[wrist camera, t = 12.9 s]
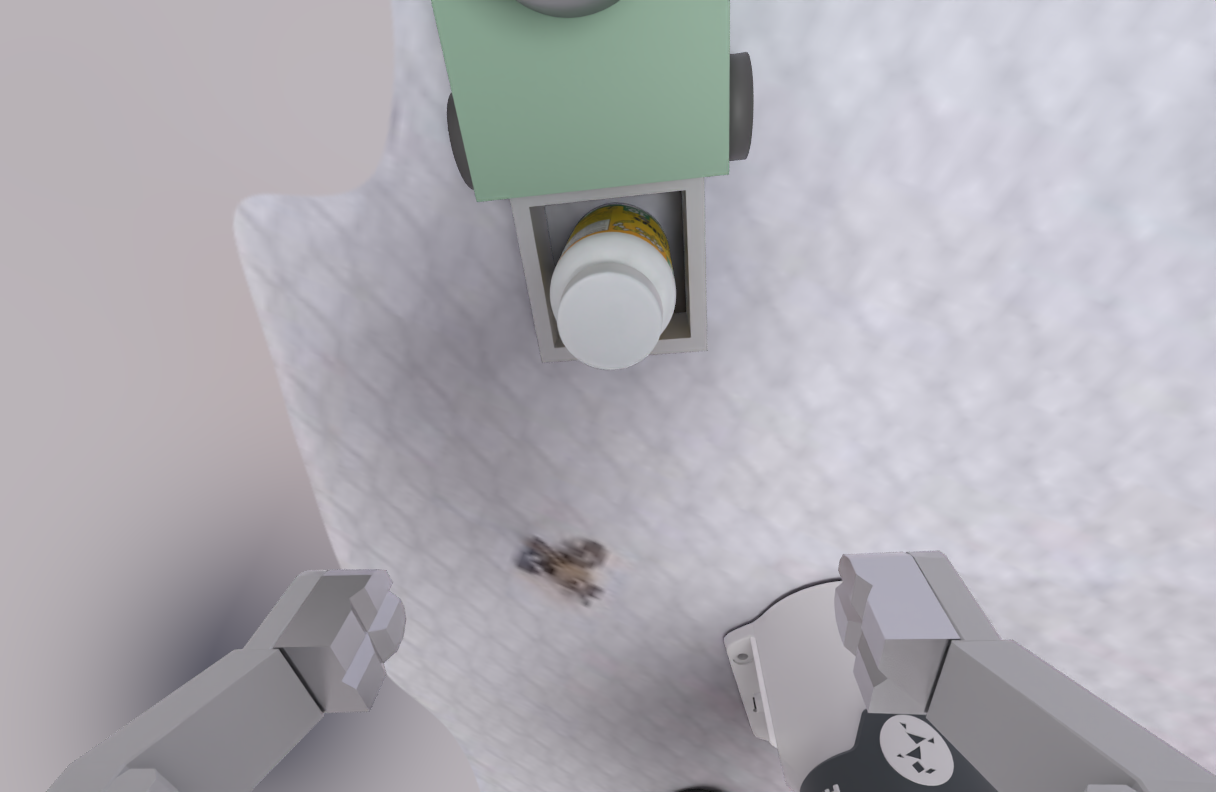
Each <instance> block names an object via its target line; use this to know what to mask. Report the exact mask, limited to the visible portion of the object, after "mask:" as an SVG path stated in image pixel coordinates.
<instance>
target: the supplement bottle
mask: <svg viewBox="0 0 1216 792" xmlns="http://www.w3.org/2000/svg"><path fill="white" fill-rule="evenodd" d="M550 302H551V307H552V310H553V314H554V316H555V318H556V321H557V327H558V332H559V335H560V338H561V340H562V342H563V344H564V345H565V347H566V348H567V349H568V351H569V352H570V353H571V354H572V355H573V356H574V357H575V358H576V359H578V360H579V361H581V362H583V363H584V364H586V365H588V366H591V367H594V368H597V369H603V370H618V369H624V368H628V367H630V366H633V365H635V364H637V363H639V362H640V361H642V360H643V359H644V358H646V357H647V356H648V355H649V354H650V352H651V351H652V350H653V349H654V347H655V346H656V344H657V342H658V340H659V337H660V335H661V334H662V332H663V331H664V330H665V328H666V327H667V325H668V324H669V322H670V320H671V317H672V315H673V312H674V308H675V302H676V285H675V279H674V274H673V268H672V262H671V256H670V250H669V244H668V240H667V237H666V235H665V233H664V231H663V229H662V227H661V226H660V224H659V223H658V222H657V221H656V219H655V218H654V217H652V216H651V215H650V214H649V213H647V212H645V211H643V210H641V209H639V208H637V207H634V206H632V205H628V204H624V203H611V204H606V205H602V206H600V207H597V208H595V209H594V210H592V211H590V212H589V213H587V214H586V215H585V216H584V217H583V218H582V219H581V220H580V221H579V222H578V224H577V225H576V227H575V228H574V230H573V232H572V233H571V236H570V238H569V240H568V242H567V244H566V246H565V249H564V250H563V252H562V254H561V257H560V259H559V261H558V263H557V265H556V267H555V270H554V272H553V275H552V279H551V285H550Z"/></svg>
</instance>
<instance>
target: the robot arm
mask: <svg viewBox="0 0 1216 792" xmlns="http://www.w3.org/2000/svg"><path fill="white" fill-rule="evenodd" d="M838 571H839V574H840V576H841V579H842V581H837V582H830V583H825V584H820V585H816V586H813V587H809V588H806V589H803V590H801V591H798V592H796V593H794V594H791V595H789V596H788V597H786V598H784V599H782V600H781V601H779V602H777V603H776V604H775V605H773V606H772V607H771V608H769V609H768V610H767V611H766V612H765V613H764V614H763V615H762V616H761V617H759V618H758V619H757V620H756V621H754V622H753V623H750V624H747V625H745V626H742V627H740V628H738V629H736V630H733V631H732V632H730V633H728V634H727V635H726V636H725V638H724V644H725V648H726V652H727V655H728V658H729V661H730V664H731V667H732V670H733V674H734V677H735V680H736V683H737V686H738V689H739V692H740V695H741V698H742V701H743V705H744V708H745V711H746V714H747V717H748V720H749V723H750V726H751V729H752V732H753V734H754V736H755V737H757V738H759V739H762V740H765V741H768V742H770V743H771V745H772V746H774V747H776V748H777V749H778V753H779V757H780V762H781V766H782V770H783V774H784V778H785V782H786V784H787V786H788V787H789V788H790V789H791V790H792V791H793V792H1216V776H1215V775H1214V774H1212V773H1211V772H1209V771H1208V770H1206V769H1205V768H1203V767H1202V766H1200V765H1199V764H1197V763H1196V762H1194V761H1193V760H1191V759H1190V758H1188V757H1187V756H1185V755H1184V754H1182V753H1181V752H1179V751H1178V750H1176V749H1175V748H1173V747H1172V746H1170V745H1169V744H1168V743H1166V742H1165V741H1163V740H1162V739H1160V738H1159V737H1157V736H1156V735H1154V734H1153V733H1151V732H1150V731H1148V730H1147V729H1145V728H1144V727H1142V726H1141V725H1139V724H1138V723H1136V722H1135V721H1133V720H1132V719H1130V718H1129V717H1127V716H1126V715H1124V714H1123V713H1121V712H1120V711H1118V710H1117V709H1115V708H1114V707H1112V706H1111V705H1109V704H1108V703H1106V702H1105V701H1103V700H1102V699H1100V698H1099V697H1097V696H1096V695H1094V694H1093V693H1091V692H1090V691H1088V690H1087V689H1085V688H1084V687H1083V686H1081V685H1080V684H1078V683H1077V682H1075V681H1074V680H1072V679H1071V678H1069V677H1068V676H1066V675H1065V674H1063V673H1062V672H1060V671H1059V670H1057V669H1056V668H1054V667H1053V666H1051V665H1050V664H1048V663H1047V662H1045V661H1044V660H1042V659H1041V658H1039V657H1038V656H1036V655H1035V654H1033V653H1032V652H1030V651H1029V650H1027V649H1026V648H1024V647H1023V646H1021V645H1020V644H1018V643H1017V642H1015V641H1014V640H1002V639H1001V637H1000V636H999V634H998V633H997V631H996V630H995V628H994V627H993V625H992V624H991V622H990V621H989V619H988V618H987V616H986V615H985V613H984V612H983V610H982V609H981V607H980V606H979V604H978V603H977V601H976V600H975V598H974V597H973V595H972V594H971V592H970V591H969V589H968V588H967V586H966V585H965V583H964V582H963V580H962V579H961V577H960V576H959V574H958V573H957V571H956V570H955V568H954V567H953V565H952V564H951V562H950V561H949V559H948V558H947V556H946V555H945V554H943V553H942V552H940V551H919V552H906V553H905V552H886V553H862V554H843V556H842V557H841V559H840V562H839V568H838ZM392 584H393V581H392V580H391V578H390V576H389V574H388V572H387V570H379V569H359V570H306V571H304V572H302V573H301V574H299V575H298V576H296V578H295V579H294V580H293V582H292V583H291V585H290V586H289V587H288V589H287V590H286V591H285V593H284V594H283V595H282V597H281V598H280V599H279V601H278V602H277V603H276V605H275V606H274V608H273V609H272V610H271V611H270V613H269V614H268V616H267V617H266V618H265V620H264V621H263V622H262V624H261V625H260V626H259V628H258V629H257V630H256V632H255V633H254V635H253V636H252V637H251V639H250V640H249V641H248V643H247V644H246V645H245V647H244V648H243V649H236V650H233V651H232V652H230V653H229V654H227V655H226V656H225V657H223V658H222V659H220V660H219V661H217V662H216V663H214V664H213V665H212V666H210V667H209V668H207V669H206V670H204V671H203V672H202V673H200V674H199V675H197V676H196V677H194V678H193V679H192V680H190V681H189V682H187V683H186V684H184V685H183V686H181V687H180V688H179V689H177V690H176V691H174V692H173V693H171V694H170V695H169V696H167V697H166V698H164V699H163V700H161V701H160V702H158V703H157V704H156V705H154V706H153V707H151V708H150V709H148V710H147V711H145V712H144V713H143V714H141V715H140V716H138V717H137V718H136V719H134V720H133V721H131V722H130V723H128V724H127V725H125V726H124V727H123V728H121V729H120V730H118V731H117V732H115V733H114V734H112V735H111V736H110V737H108V738H107V739H105V740H104V741H103V742H101V743H100V744H98V745H97V746H95V747H94V748H92V749H91V750H89V751H88V752H86V753H85V754H84V755H82V756H81V757H79V758H78V759H76V760H75V761H74V762H72V763H71V764H69V766H68V767H67V768H66V769H65V770H64V771H63V773H62V774H61V775H60V776H59V777H58V779H56V781H55V782H54V783H53V784H52V785H51V786H50V788H49V789H48V790H47V791H46V792H251V791H252V790H253V789H254V787H256V785H257V784H258V783H259V782H260V781H261V780H262V779H263V778H264V777H265V776H266V775H267V774H268V773H269V772H270V771H271V770H272V769H273V768H274V767H275V766H276V765H277V764H278V763H279V762H280V761H281V760H282V759H283V758H284V757H285V755H287V754H288V752H290V751H291V749H292V748H293V747H294V746H295V745H296V744H297V743H298V742H299V741H300V740H301V739H302V738H303V737H304V736H305V735H306V734H307V733H308V732H309V731H310V730H311V729H312V728H313V727H314V726H315V725H316V724H317V723H318V722H319V720H321V719H322V718H323V716H324V714H323V713H343V712H370V710H371V707H372V705H373V703H374V701H375V699H376V696H377V694H378V692H379V690H380V687H381V686H382V683H383V681H384V679H385V677H386V670H385V666H384V662H385V661H387V660H388V659H389V658H390V657H391V656H392V655H393V654H394V653H396V652H397V650H398V648H399V646H400V643H401V641H402V639H403V636H404V630H405V624H406V615H405V608H404V605H403V603H402V601H401V599H400V598H399V597H397V596H396V595H394V594H393V593H392V592H390V591H389V590H390V588H391V586H392Z"/></svg>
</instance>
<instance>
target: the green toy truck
mask: <svg viewBox="0 0 1216 792" xmlns="http://www.w3.org/2000/svg"><path fill="white" fill-rule="evenodd" d="M431 2H432V7H433V11H434V16H435V20H436V24H437V29H438V33H439V38H440V42H441V46H442V51H443V55H444V60H445V64H446V68H447V73H448V77H449V82H450V86H451V90H452V93H451V94H450V96H449V99H448V104H447V122H448V131H449V137H450V142H451V147H452V151H453V154H454V158H455V161H456V164H457V166H458V169H459V171H460V173H461V176H462V178H463V179H464V181H465V183H466V184H467V185H468V186H469V187H470V188H471V189H473V190H474V192H475V196H476V200H477V202H483V201H492V200H501V199H510V203H511V208H512V213H513V218H514V223H515V228H516V234H517V239H518V244H519V249H520V254H521V259H522V264H523V269H524V274H525V279H526V284H527V290H528V295H529V300H530V305H531V310H532V315H533V320H534V325H535V330H536V335H537V340H538V346H539V351H540V356H541V361H542V363H548V362H562V361H575V360H578V359H576V358H575V357H574V356H573V355H572V354H571V353H570V352H569V351H568V349H567V348H566V347H565V345H564V344H563V342H562V340H561V338H560V335H559V332H558V327H557V321H556V318H555V316H554V314H553V310H552V307H551V302H550V285H551V279H552V275H553V272H554V270H555V267H554V261H553V255H552V249H551V243H550V237H549V231H548V225H547V219H546V213H545V207H544V205H552V204H562V203H571V202H580V201H589V200H599V199H608V198H617V197H627V196H636V195H645V194H654V193H664V192H673V191H682V213H683V239H684V265H685V291H686V312H681V313H673V315H672V317H671V320H670V322H669V324H668V325H667V327H666V328H665V330H664V331H663V332H662V334H661V335H660V337H659V340H658V342H657V344H656V346H655V347H654V349H653V350H652V351H651V352H650V354H649V355H658V354H671V353H685V352H699V351H707V302H706V245H705V188H704V177H710V176H719V175H728V174H729V161H734V160H743V159H746V158H747V156H748V153H749V149H750V144H751V136H752V126H753V76H752V67H751V61H750V57H749V54H748V53H747V52H744V53H737V54H730V0H431Z"/></svg>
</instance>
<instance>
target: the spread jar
mask: <svg viewBox="0 0 1216 792" xmlns="http://www.w3.org/2000/svg"><path fill="white" fill-rule="evenodd" d="M680 792H712V791H708V790H699V789H692V790H684V791H680Z"/></svg>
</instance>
